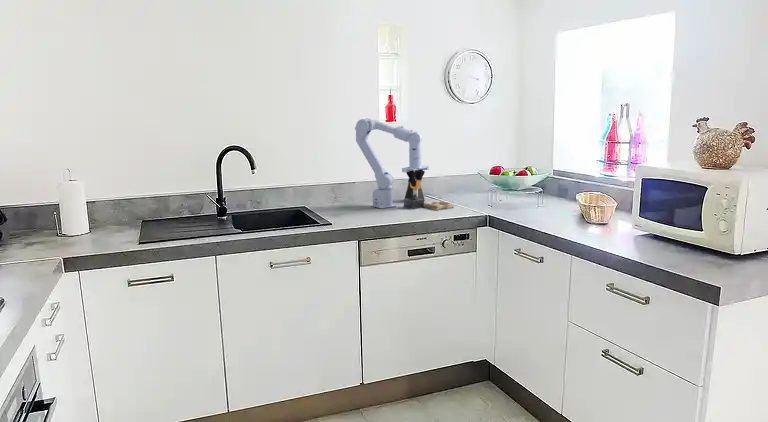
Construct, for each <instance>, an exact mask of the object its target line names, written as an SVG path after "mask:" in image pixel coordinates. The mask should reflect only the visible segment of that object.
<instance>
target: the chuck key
mask: <svg viewBox="0 0 768 422" xmlns="http://www.w3.org/2000/svg"><path fill="white" fill-rule="evenodd" d="M421 182H422V180H416V179H415V187H413V186H411V182H410V188H413V197H414V198H418V189H420V188H422V185H421V184H422V183H421Z"/></svg>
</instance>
